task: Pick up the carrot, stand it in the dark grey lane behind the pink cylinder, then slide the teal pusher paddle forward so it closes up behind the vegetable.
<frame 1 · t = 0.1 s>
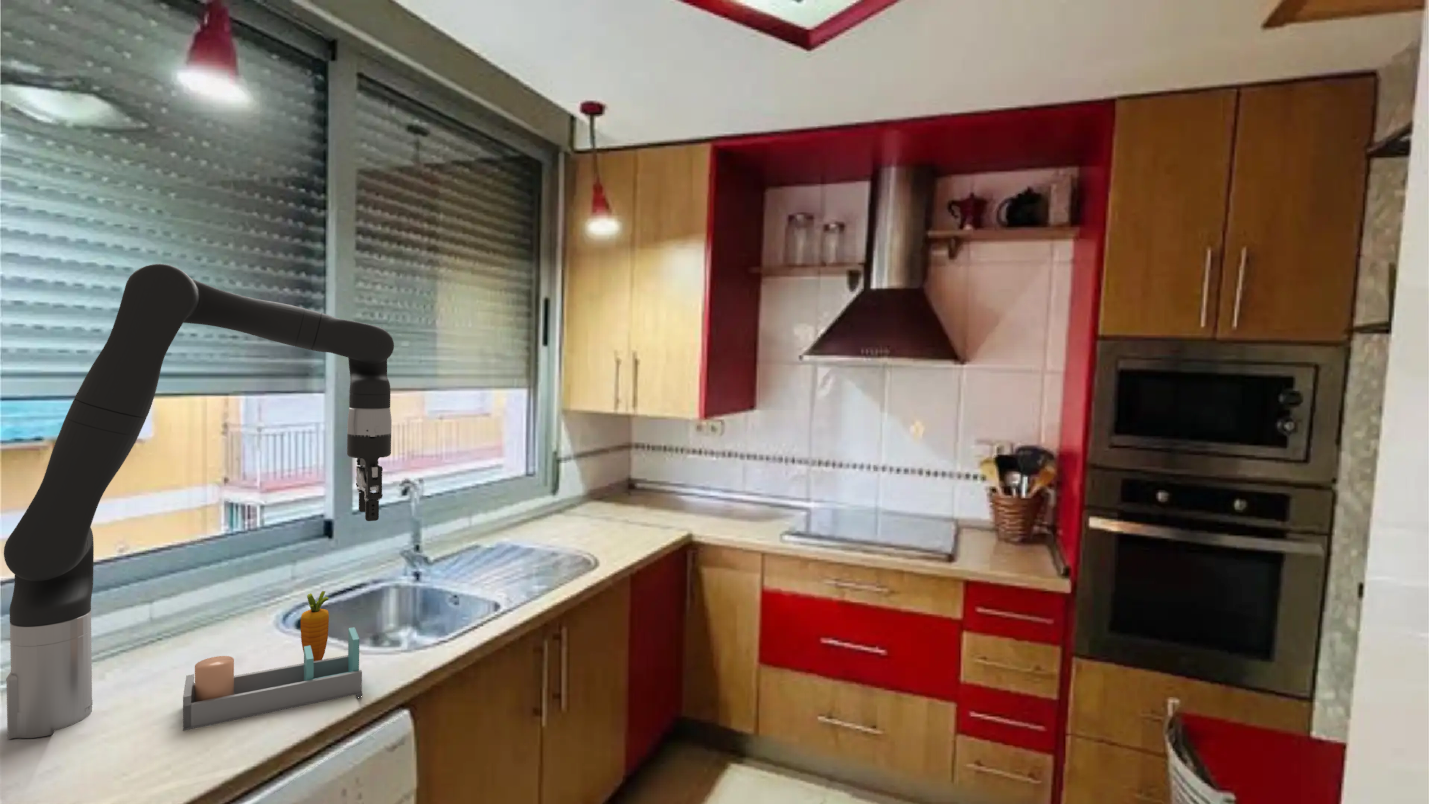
hand: (368, 515, 134), 29 cm above the countertop, tool pointing down, fingers open, 8 cm apart
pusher: (331, 661, 124), point 5 cm above the countertop, slide at 0.0 cm
lane: (276, 702, 119), on the countertop
pink cylinder: (214, 710, 114), point 1 cm above the countertop, touching lane
carrot: (314, 670, 132), on the countertop
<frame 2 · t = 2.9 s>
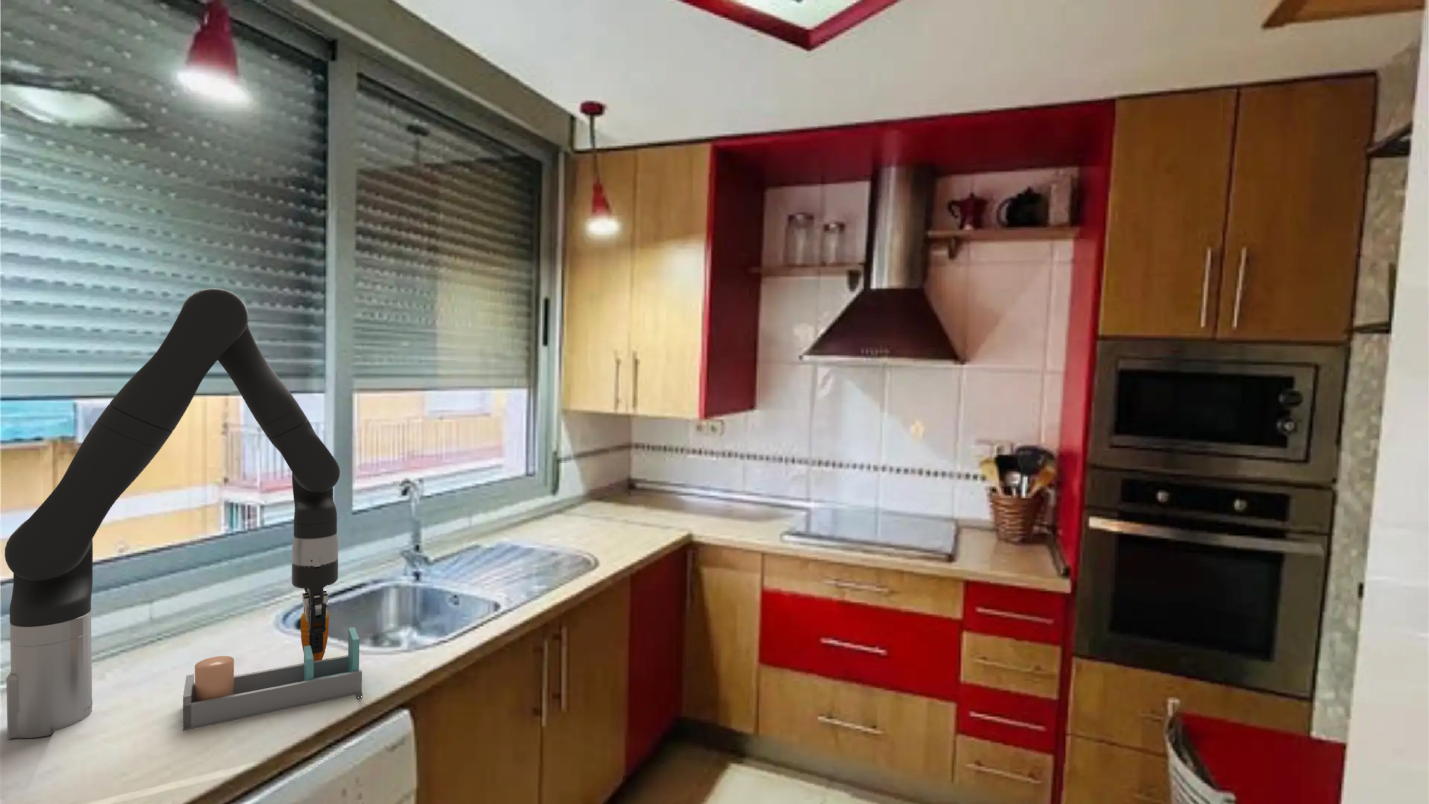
hand: (314, 647, 132), 4 cm above the countertop, tool pointing down, fingers closed on carrot, 4 cm apart
carrot: (314, 670, 132), on the countertop, touching gripper
everything else where it was.
when the fingers open (6 cm above the countertop, at t = 8.8 s): carrot drops 1 cm, resting on lane.
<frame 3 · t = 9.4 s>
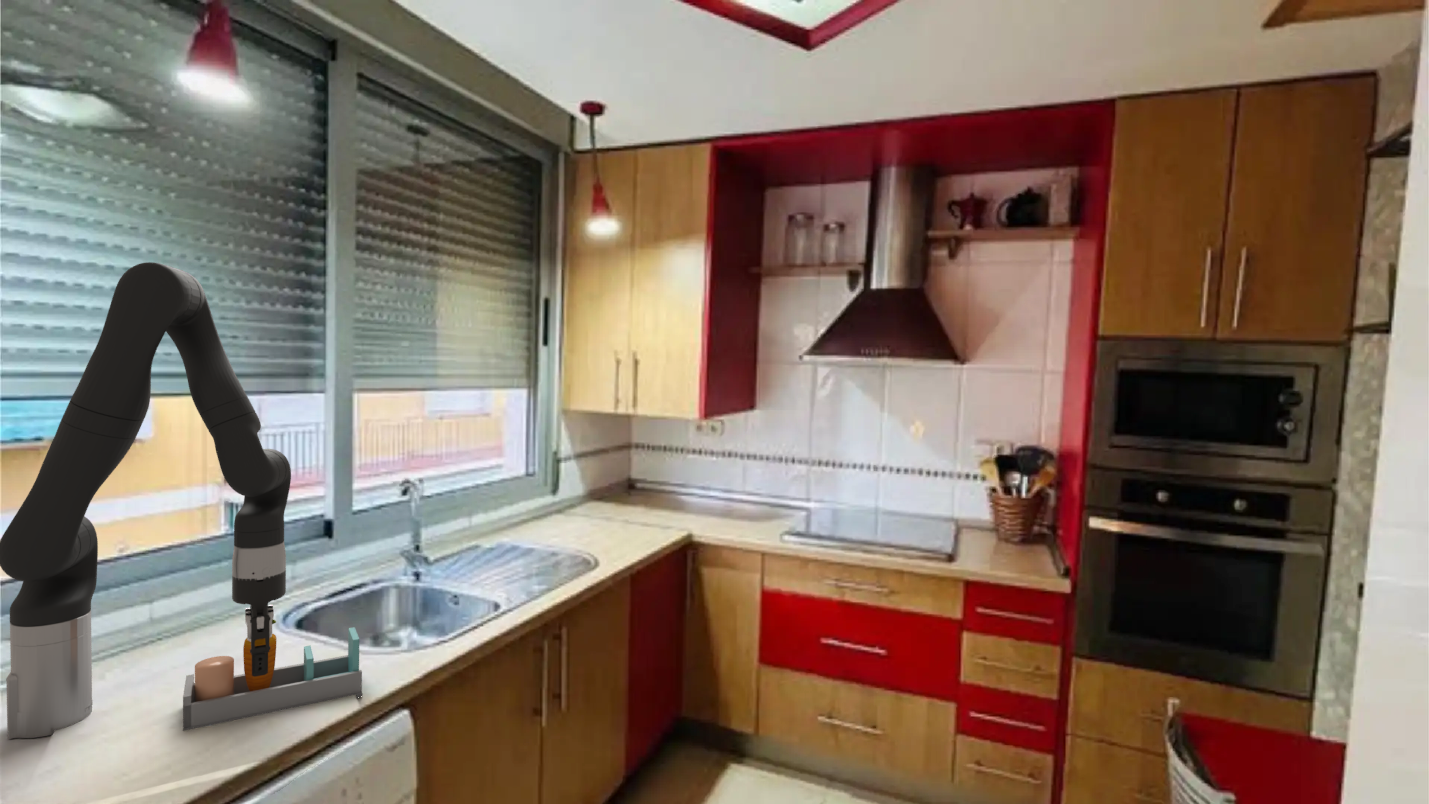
hand: (259, 664, 118), 7 cm above the countertop, tool pointing down, fingers open, 8 cm apart
carrot: (259, 702, 118), point 1 cm above the countertop, touching lane
everything else where it was.
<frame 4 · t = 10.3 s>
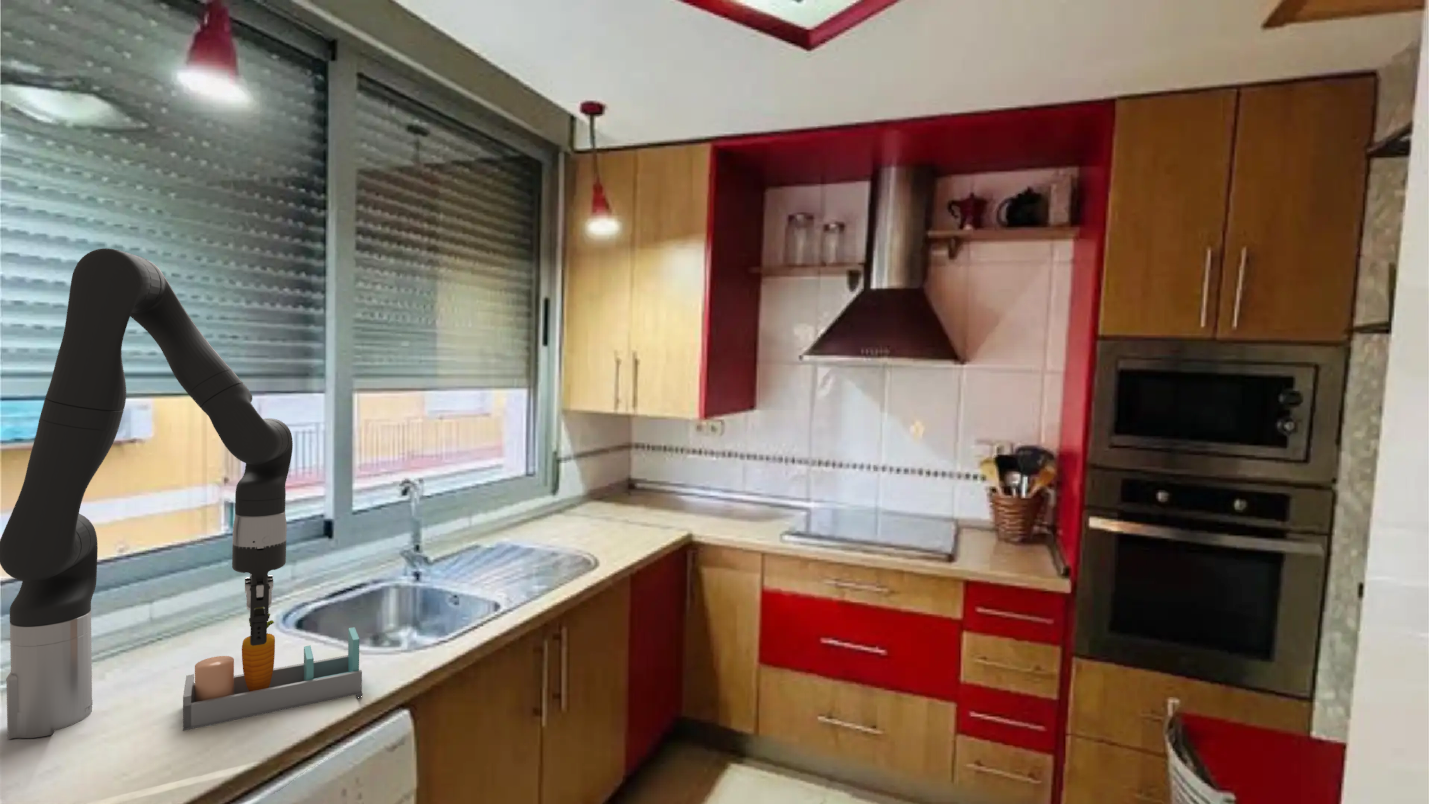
hand: (257, 635, 117), 12 cm above the countertop, tool pointing down, fingers open, 8 cm apart
nothing on the countertop moved.
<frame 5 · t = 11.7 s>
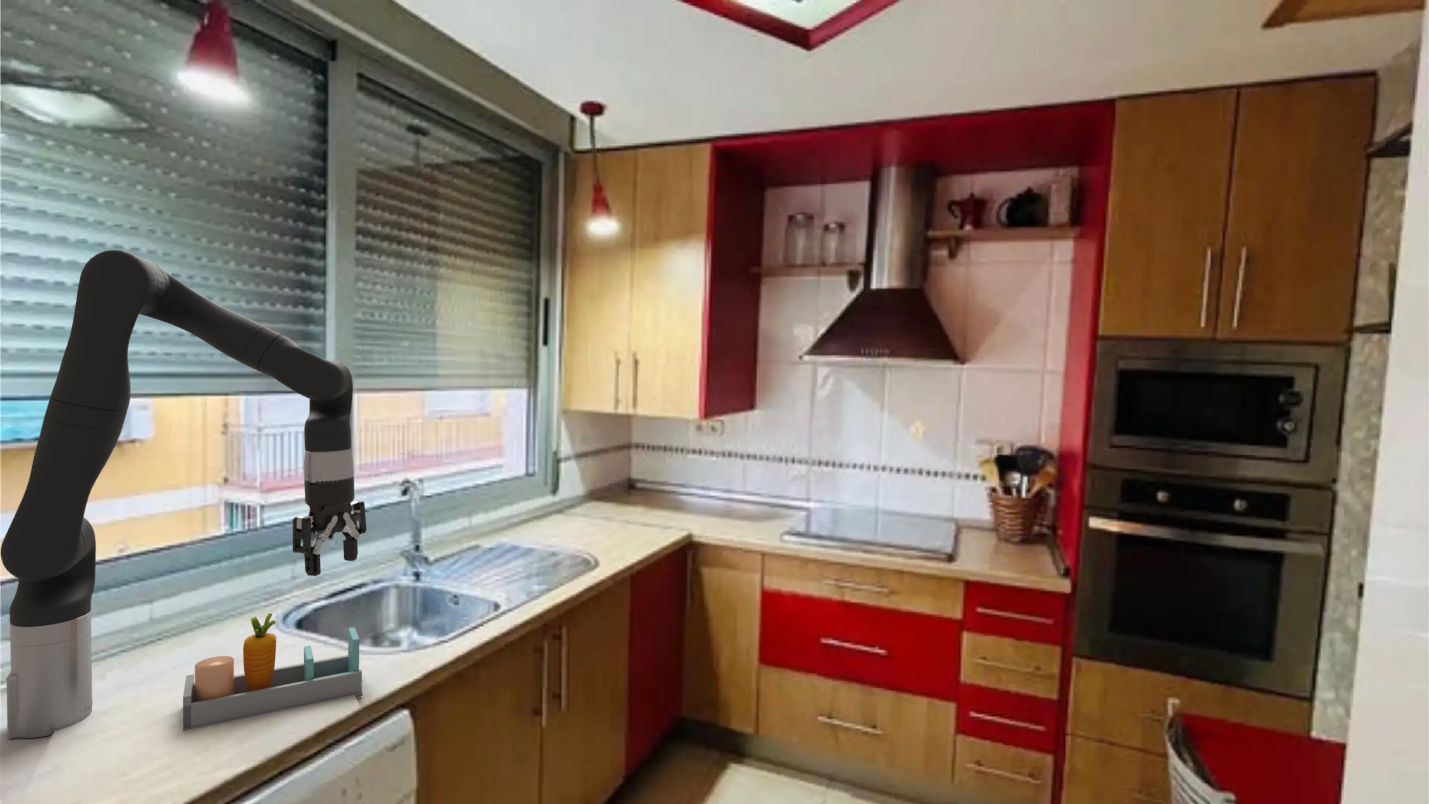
hand: (332, 567, 122), 23 cm above the countertop, tool pointing down, fingers open, 8 cm apart
nothing on the countertop moved.
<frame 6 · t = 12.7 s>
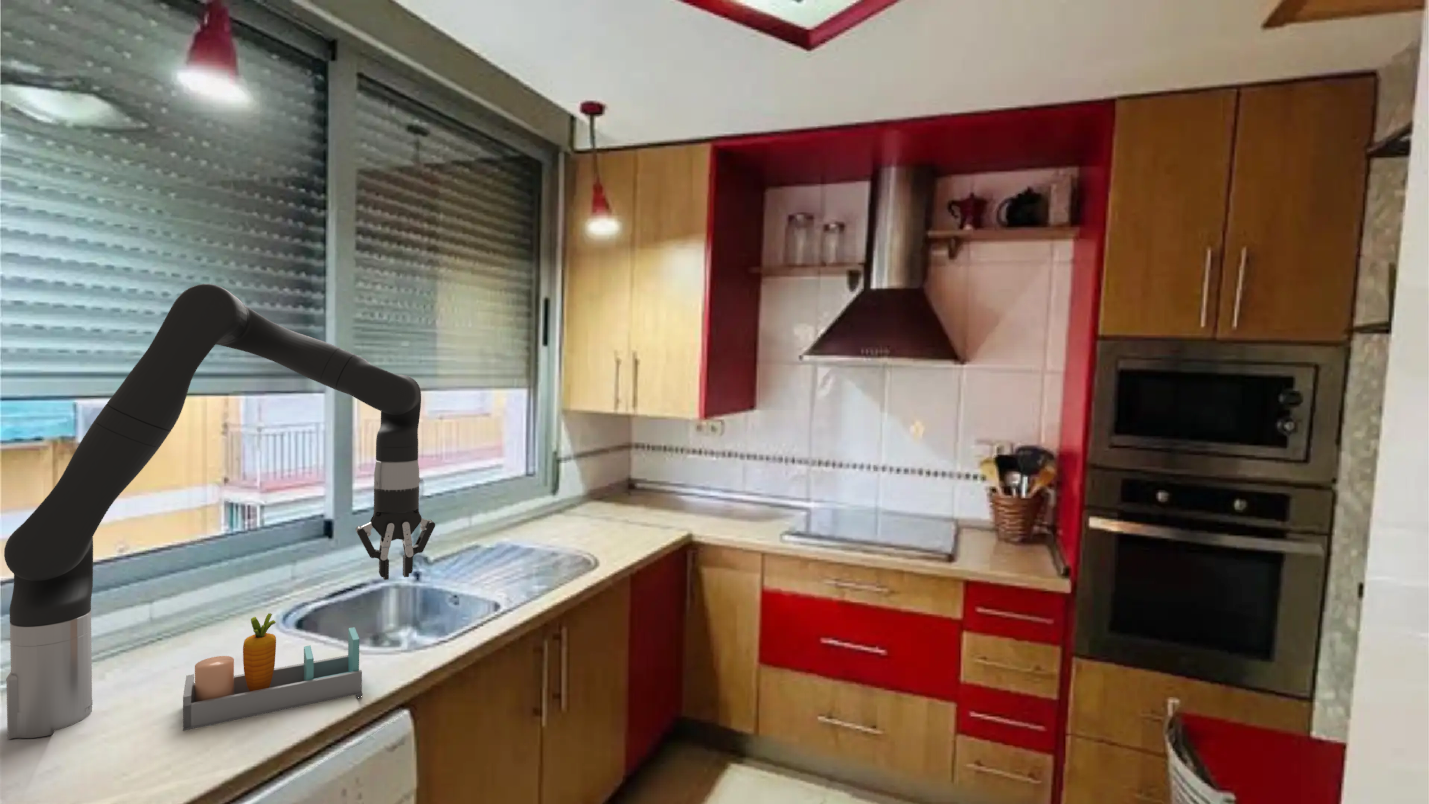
hand: (395, 577, 129), 19 cm above the countertop, tool pointing down, fingers open, 3 cm apart
nothing on the countertop moved.
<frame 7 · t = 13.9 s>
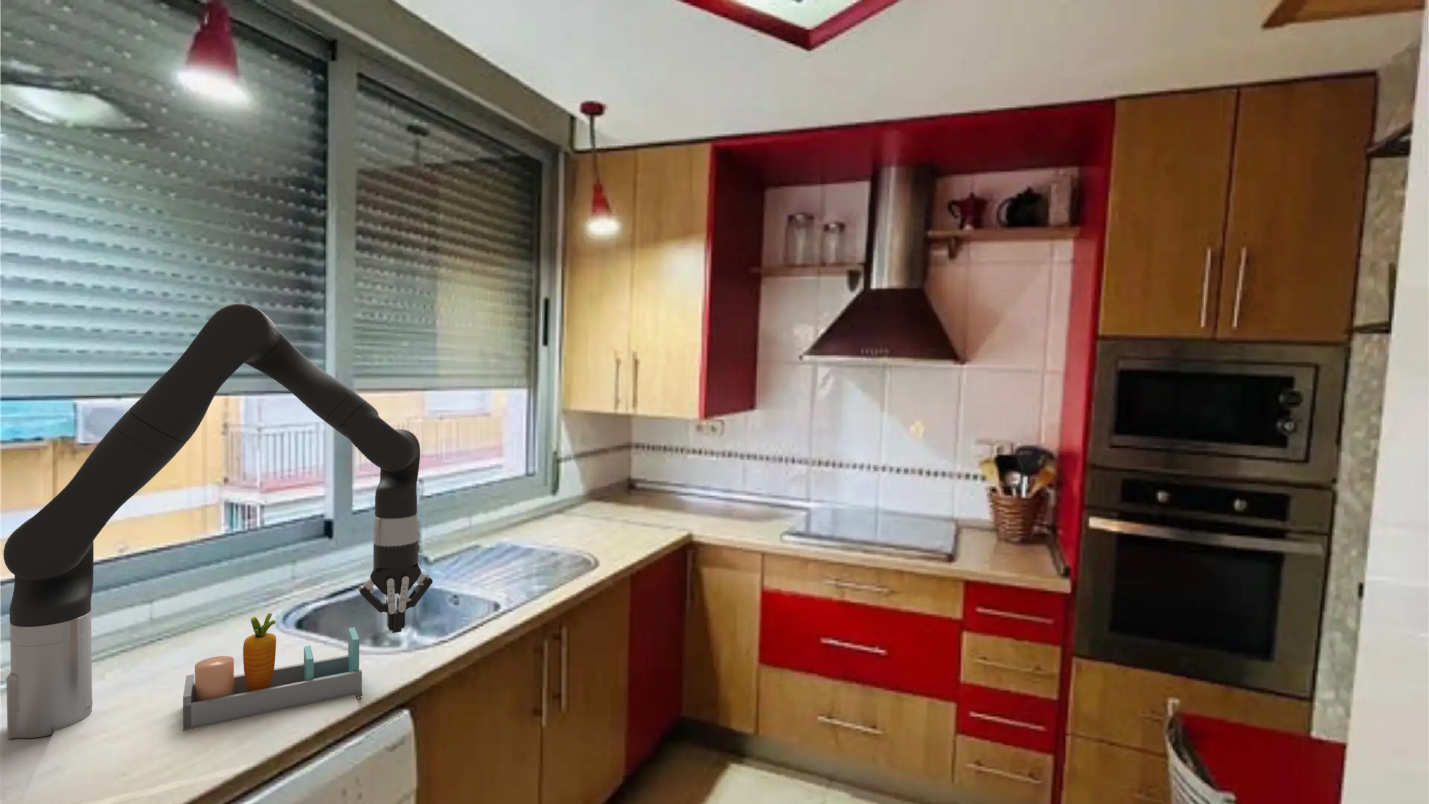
hand: (395, 631, 129), 9 cm above the countertop, tool pointing down, fingers closed
nothing on the countertop moved.
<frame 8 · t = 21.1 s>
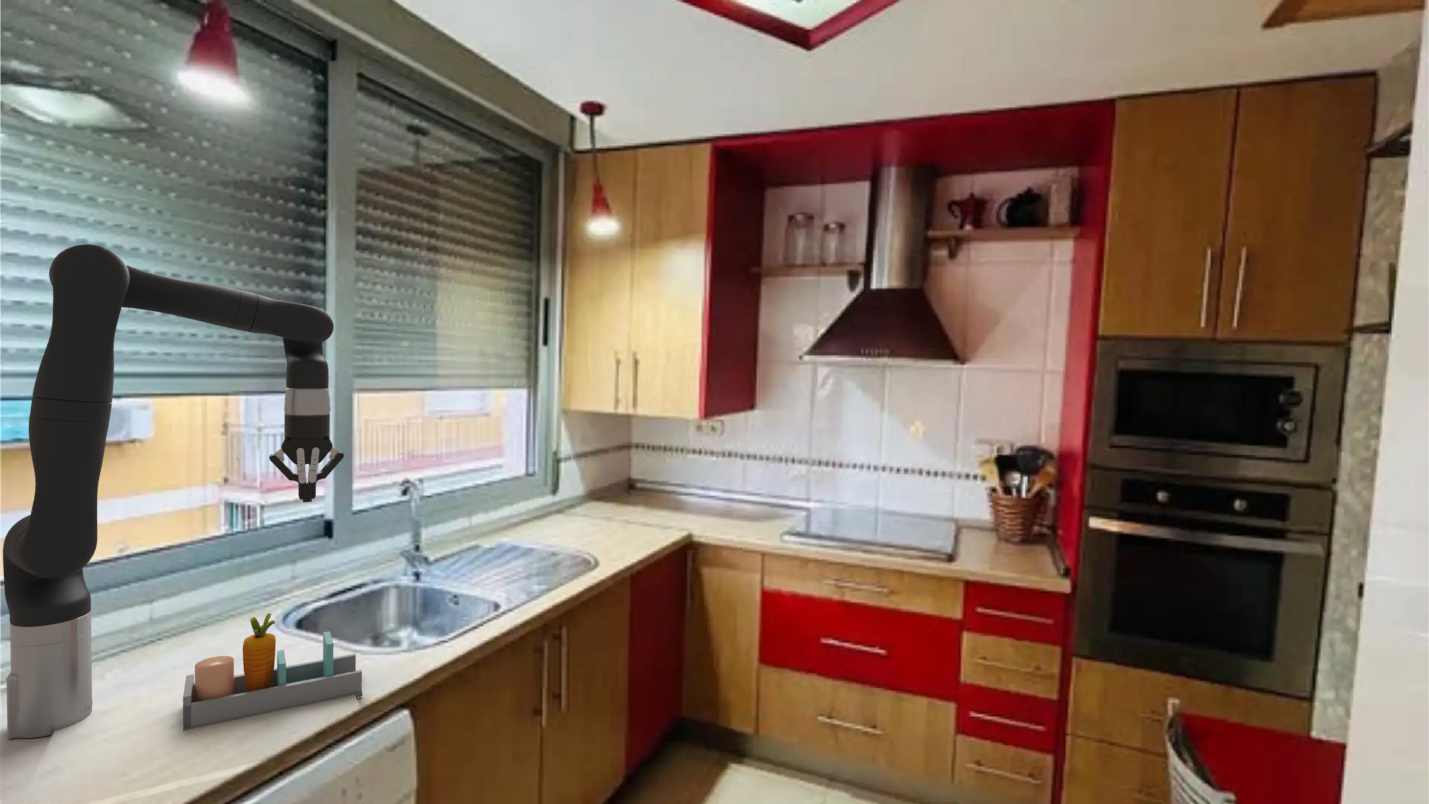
hand: (306, 501, 135), 31 cm above the countertop, tool pointing down, fingers closed
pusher: (305, 666, 121), point 5 cm above the countertop, slide at 4.0 cm
everything else where it was.
at the end: carrot 0.5 cm from the target spot, point 0.6 cm above the countertop; carrot tilted 0°; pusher slide at 4.0 cm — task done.
